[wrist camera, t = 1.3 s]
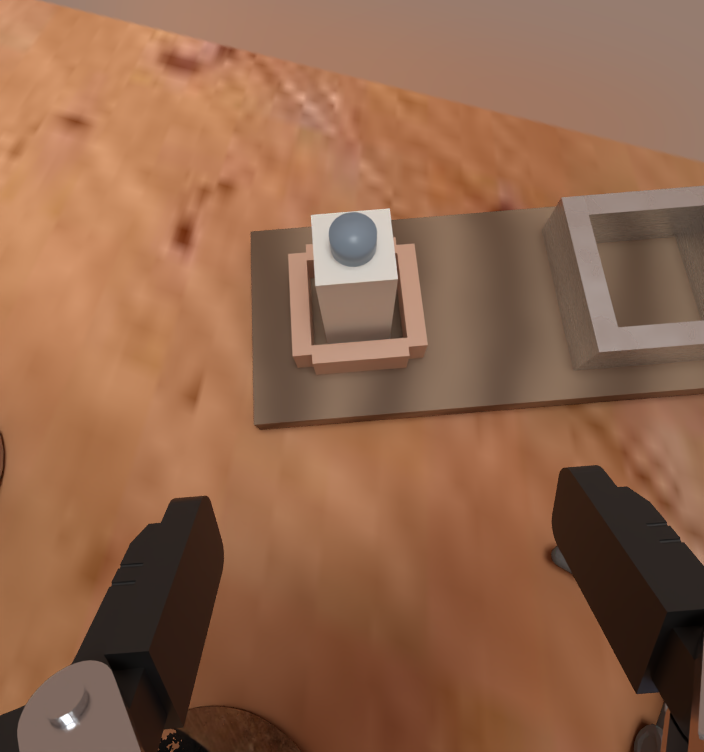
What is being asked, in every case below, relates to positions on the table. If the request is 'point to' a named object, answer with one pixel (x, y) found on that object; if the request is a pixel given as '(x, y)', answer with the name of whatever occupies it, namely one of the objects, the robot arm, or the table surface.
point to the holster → (362, 352)
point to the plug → (355, 274)
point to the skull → (227, 733)
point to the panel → (470, 326)
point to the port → (588, 284)
